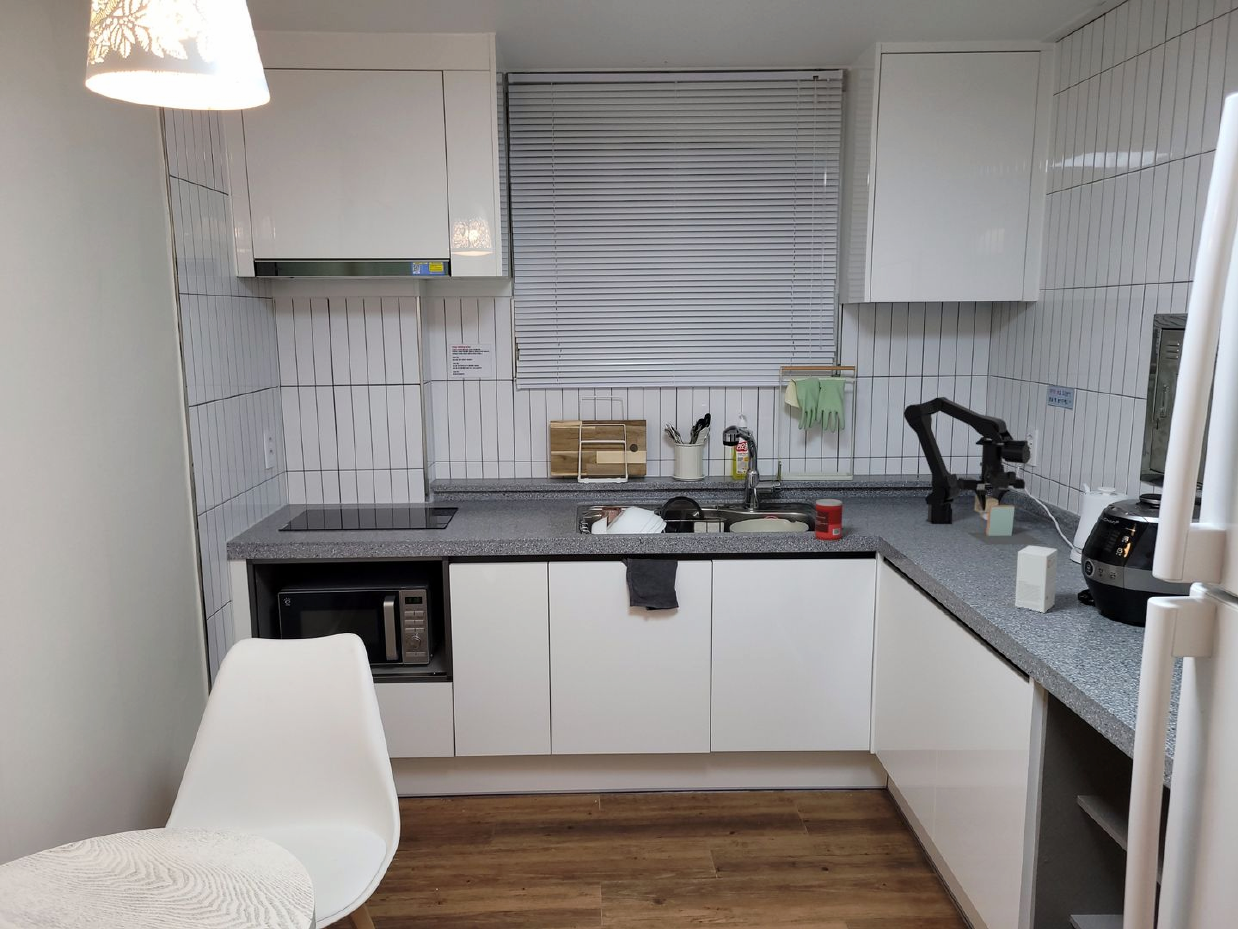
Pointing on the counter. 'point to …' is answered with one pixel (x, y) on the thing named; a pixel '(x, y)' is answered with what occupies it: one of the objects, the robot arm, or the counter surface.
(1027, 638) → the counter surface
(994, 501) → the beige l-shaped piece
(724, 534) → the counter surface
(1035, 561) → the small box
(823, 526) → the canned food
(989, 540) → the mat
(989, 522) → the tile
